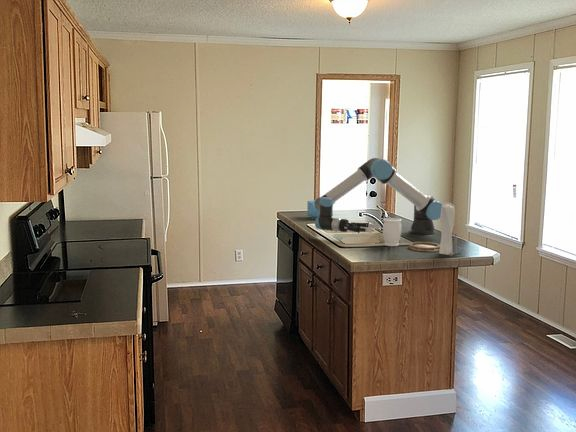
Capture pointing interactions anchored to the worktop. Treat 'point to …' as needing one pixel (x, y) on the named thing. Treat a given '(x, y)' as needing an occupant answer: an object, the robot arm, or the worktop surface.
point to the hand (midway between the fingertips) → (375, 228)
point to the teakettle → (314, 210)
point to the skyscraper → (447, 230)
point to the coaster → (424, 246)
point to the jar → (391, 231)
